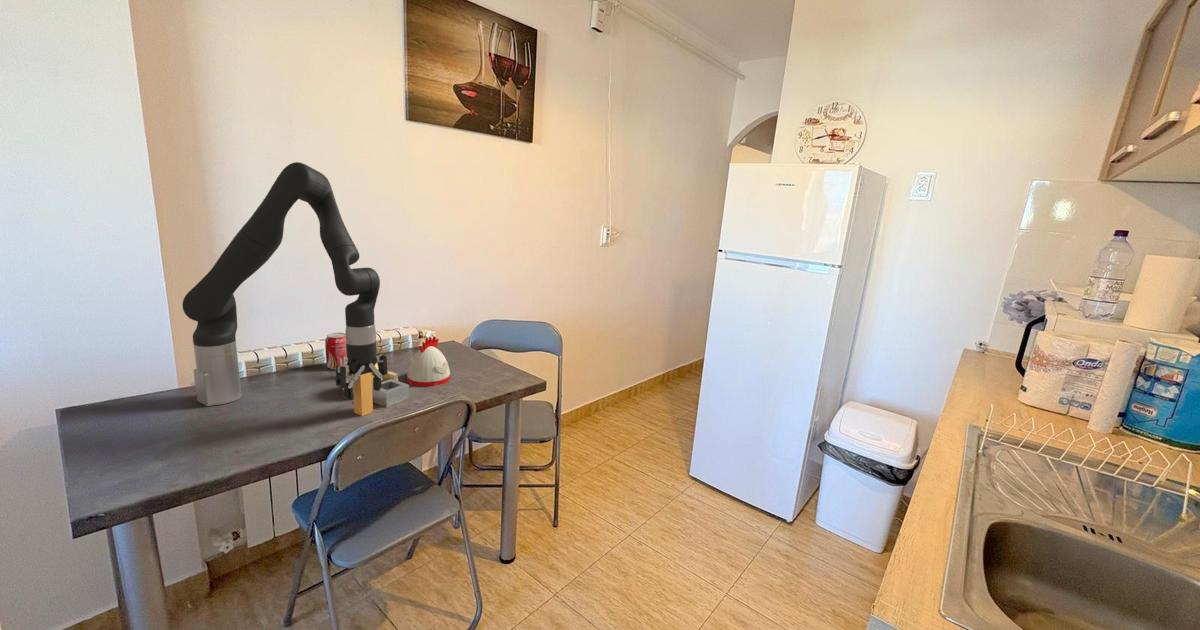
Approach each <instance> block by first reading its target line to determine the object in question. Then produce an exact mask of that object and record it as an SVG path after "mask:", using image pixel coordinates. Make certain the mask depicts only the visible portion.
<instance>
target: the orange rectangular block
mask: <svg viewBox="0 0 1200 630" xmlns="http://www.w3.org/2000/svg"><path fill="white" fill-rule="evenodd" d="M353 376H354V375H353ZM353 391H354V395H353V406H354V407H353V409H354V410H353V411H354V412H353V413H354V414H356V415H359V416H361V417H363V416H365V415H368V414H371V413H373V412H374V404H373V403H374V402H373V397H372V373H371V372H369V373H366V374H362V375H360V376H359V378H358V379H357V381H355V382H354V384H353Z"/></svg>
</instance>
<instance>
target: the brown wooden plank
mask: <svg viewBox="0 0 1200 630" xmlns="http://www.w3.org/2000/svg"><path fill="white" fill-rule="evenodd" d="M389 379H393V380H396V381H399V373H396V372H394V371H392V370H391V371H390V370H388V373H387V374H386V375H383V376H382V381H381V382H383V381H386V380H389Z"/></svg>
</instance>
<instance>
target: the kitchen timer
mask: <svg viewBox="0 0 1200 630" xmlns="http://www.w3.org/2000/svg"><path fill="white" fill-rule="evenodd" d="M439 339H440V338H436V336H434V335H433V336H432V337H430V336H429V337H425V342H423V341H422V342H421V345H422V346H418V348H419V350H418V351H416V353H415V354H414V355H413V356H412V358H410V359H409V367H408V369H407V375H406V376H407V377H406V378H407V379H406V380H407V384H408V383H409V385H412V386H416V387H437V386H441V385H443V384H446V383H448V382H449V381H450V379H451V370H450V367H449V362H448V361H447V359H446V357H445V355H444V354H443V352H441V350H440V349H438V348H437V346H438V344H439Z"/></svg>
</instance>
